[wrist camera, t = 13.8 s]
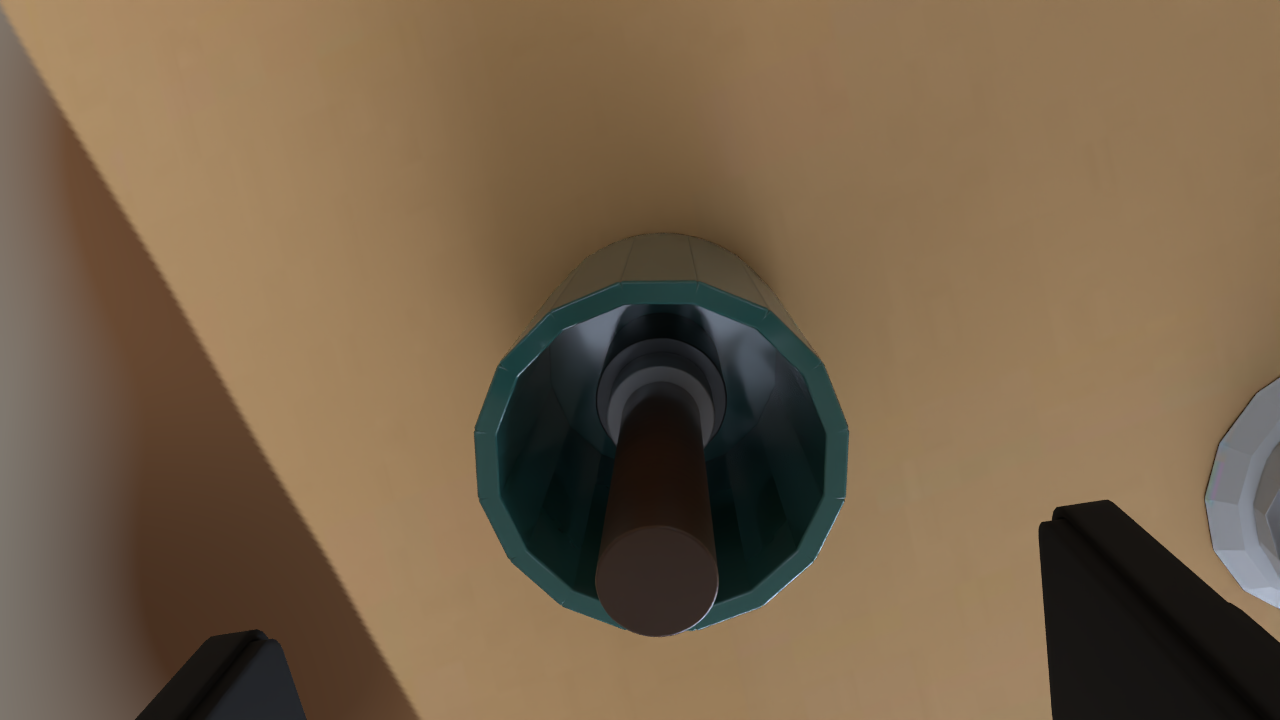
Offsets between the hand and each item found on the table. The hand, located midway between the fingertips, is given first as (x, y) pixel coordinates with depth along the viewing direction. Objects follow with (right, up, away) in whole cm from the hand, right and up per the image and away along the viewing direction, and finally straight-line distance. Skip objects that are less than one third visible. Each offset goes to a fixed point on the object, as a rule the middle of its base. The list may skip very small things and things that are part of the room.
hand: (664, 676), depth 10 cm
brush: (0, +4, +17) cm, 17 cm away
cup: (0, +4, +17) cm, 18 cm away
